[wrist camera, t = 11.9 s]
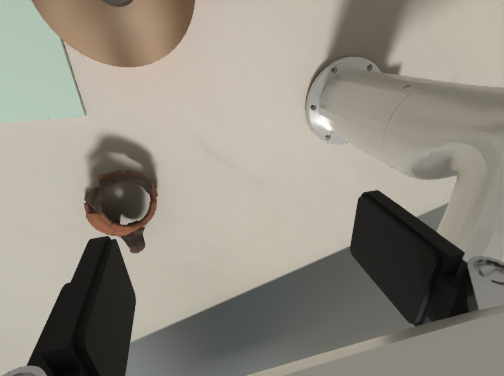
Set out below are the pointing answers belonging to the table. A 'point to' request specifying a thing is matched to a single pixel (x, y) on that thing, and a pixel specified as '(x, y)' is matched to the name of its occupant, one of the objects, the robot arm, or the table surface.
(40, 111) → the mat
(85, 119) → the table surface
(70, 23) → the lid
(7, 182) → the table surface
